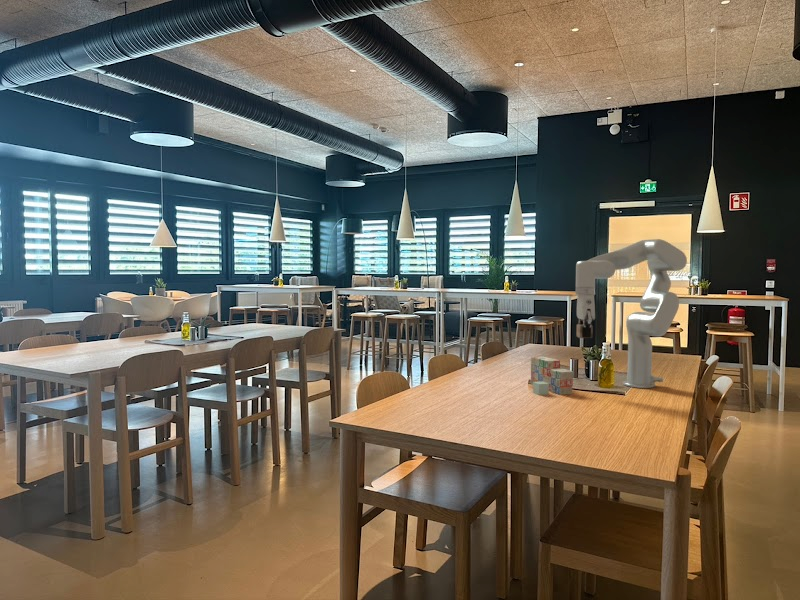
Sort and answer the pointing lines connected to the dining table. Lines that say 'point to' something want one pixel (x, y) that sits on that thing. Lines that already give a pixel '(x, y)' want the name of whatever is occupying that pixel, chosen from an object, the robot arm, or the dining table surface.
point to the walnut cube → (580, 329)
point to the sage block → (541, 388)
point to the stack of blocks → (551, 375)
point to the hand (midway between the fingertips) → (584, 335)
